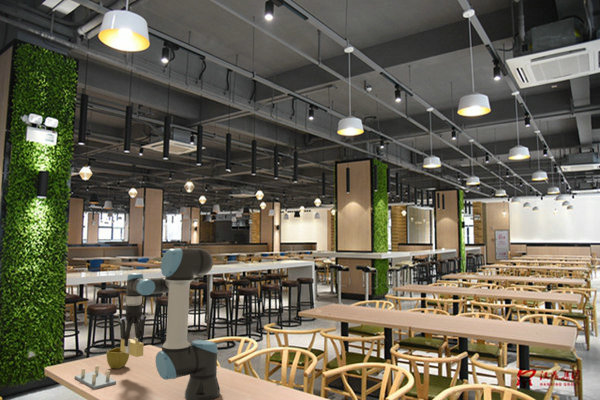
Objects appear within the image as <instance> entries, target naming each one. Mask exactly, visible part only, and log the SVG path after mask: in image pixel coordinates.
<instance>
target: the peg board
mask: <svg viewBox="0 0 600 400" xmlns="http://www.w3.org/2000/svg"><path fill="white" fill-rule="evenodd" d="M94 366H95V367H94V371H90V372H86V368H85V367H82V368H81V371H80V374H77V375H74V379H75V380H77V381H78V382H80V383H83V384H84V385H86V386H88V387H89V388H91V389H93V390H96V389H100V388H106V387H108V386H113V385H117V380H114V379H113V378H111V377H110V376H111V370H106V372H105V373H106V374H102V373H100V372H99V367H100V365H94Z"/></svg>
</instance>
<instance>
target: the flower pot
mask: <svg viewBox="0 0 600 400" xmlns="http://www.w3.org/2000/svg"><path fill="white" fill-rule="evenodd" d="M120 348H121V347H115V348H112V349H109V350H106V361H107V365H108V366H109V368H111V369H119V370H120V369H121V368H123V367H125V366H126V364H127V362H128V361H129V358H130V354H127V353H124V352H122V351H120Z"/></svg>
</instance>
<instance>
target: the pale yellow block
mask: <svg viewBox="0 0 600 400" xmlns="http://www.w3.org/2000/svg"><path fill="white" fill-rule="evenodd" d="M129 339H130V353H127V354H129V356H133V357H134V358H139V357H143V356H144V345H145V344H144V342H141V341H136V340H134V338H133V339H132V338H131V334H130V335H129ZM119 348H120V351H122V352H124V353H126V352H125V351H126V346H124V339H122V338H121V337H120V347H119Z"/></svg>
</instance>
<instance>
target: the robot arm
mask: <svg viewBox="0 0 600 400" xmlns="http://www.w3.org/2000/svg"><path fill="white" fill-rule="evenodd" d="M213 266H214V259H213V256H212V254H211V253H210V251H207V250H206V249H203V248H181V247H179V248H169V249H168V250H166V251H165V253H164V254H163V257H162V258H161V261H160V272H161V274H162V276H164V277H155V278H154V277H153V278H152V277H151V278H144V274H143V273H135V272H134V273H129V274H128V275H127V279H126V294H125V295H126V299H125V304H126V305H125V314H124V317H122V318H119V324H120V339H121V338H122V339H124V346H126V351H125V352H126V353H130V339H131V338H130V339H129V335H130V336H131V330H132V326H133V325H134V335H135V337H133V340H136V341H139V342H141V341H140V339H141V338H142V337H143V336H144V335H145V334H144V333H145V325H146V324H145V323H146V319H147V316H146V315H143V314H142V308H143V307H142V306H143V305H142V303H143V296H149V295H151V294H152V295H153V294H154V295H155V294H164V293H168V297H167V298H168V299H167V318H166V320H167V321H166V335H165V337H166V340H165V342H164V343H162V345H161V350H160V351H158V352H157V353H156V356H155V367H156V371H157V373H158V375H159V376H160V378H162V379H163V380H166V381H167V380H175V379H177V378H181V377H185V376H189V379H188V383H187V384H186V388H185V391H184V398H185V399H186V400H214V399H215V400H216V399H218V398H219V396H221V395H220V393H221V388H220V385H219V380H218V377H217V375H218V373H217V372H218V371H217V370H218V354H219V352H218V345H217V343H215V342H213V341H210V340H204V339H203V340H201V339H199V340H197V339H195V340H192V341H191V342H189V340H188V330H189V329H188V327H189V326H188V325H189V311H190V310H189V307H190V291H191V290H190V288H191V287H190V286H191V283H193V281H194V279H195V278H197V277H203V276H205V275H206V274H208V273H210V272H211V271H212V269H213Z"/></svg>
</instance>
